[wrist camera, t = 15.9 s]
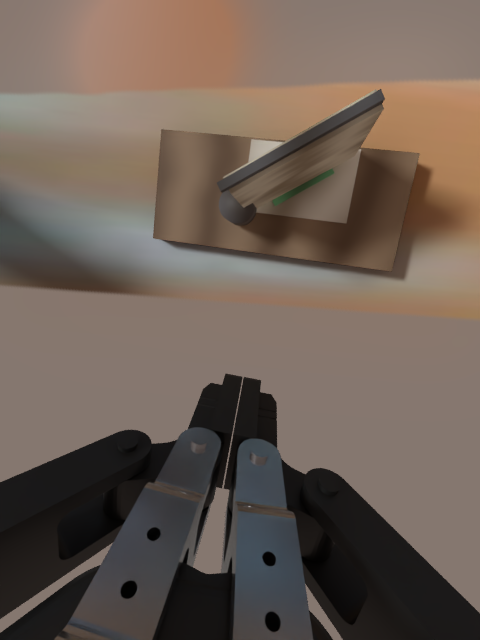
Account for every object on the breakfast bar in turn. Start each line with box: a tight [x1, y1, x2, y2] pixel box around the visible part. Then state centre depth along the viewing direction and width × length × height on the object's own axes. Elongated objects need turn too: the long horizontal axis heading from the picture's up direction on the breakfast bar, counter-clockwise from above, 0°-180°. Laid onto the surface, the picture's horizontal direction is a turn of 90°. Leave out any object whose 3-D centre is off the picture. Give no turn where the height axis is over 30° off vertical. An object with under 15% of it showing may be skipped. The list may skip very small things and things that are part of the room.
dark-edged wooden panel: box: [217, 89, 385, 226], centre depth 24 cm, size 12×3×10 cm, turn 116°
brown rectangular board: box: [153, 129, 420, 272], centre depth 31 cm, size 24×10×2 cm, turn 82°
